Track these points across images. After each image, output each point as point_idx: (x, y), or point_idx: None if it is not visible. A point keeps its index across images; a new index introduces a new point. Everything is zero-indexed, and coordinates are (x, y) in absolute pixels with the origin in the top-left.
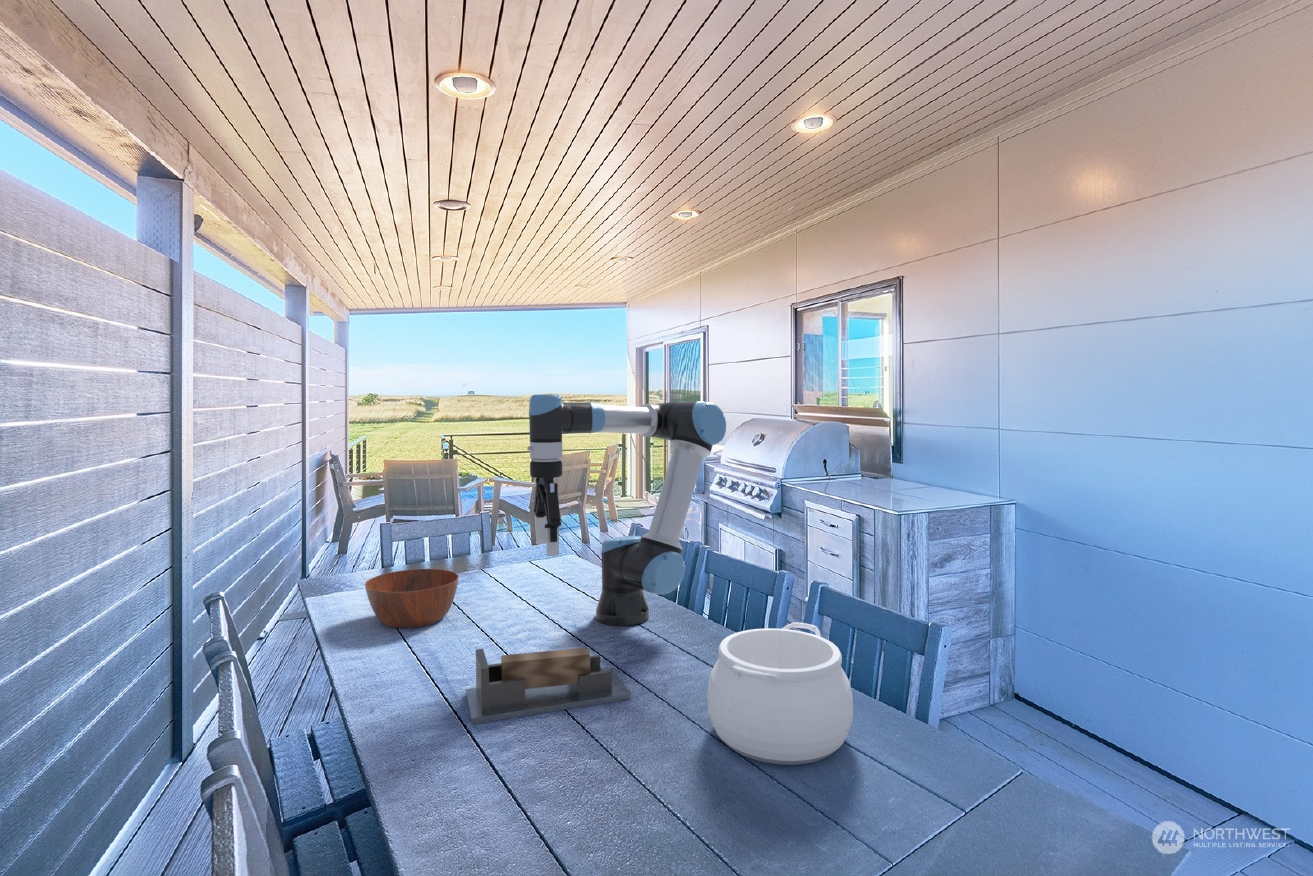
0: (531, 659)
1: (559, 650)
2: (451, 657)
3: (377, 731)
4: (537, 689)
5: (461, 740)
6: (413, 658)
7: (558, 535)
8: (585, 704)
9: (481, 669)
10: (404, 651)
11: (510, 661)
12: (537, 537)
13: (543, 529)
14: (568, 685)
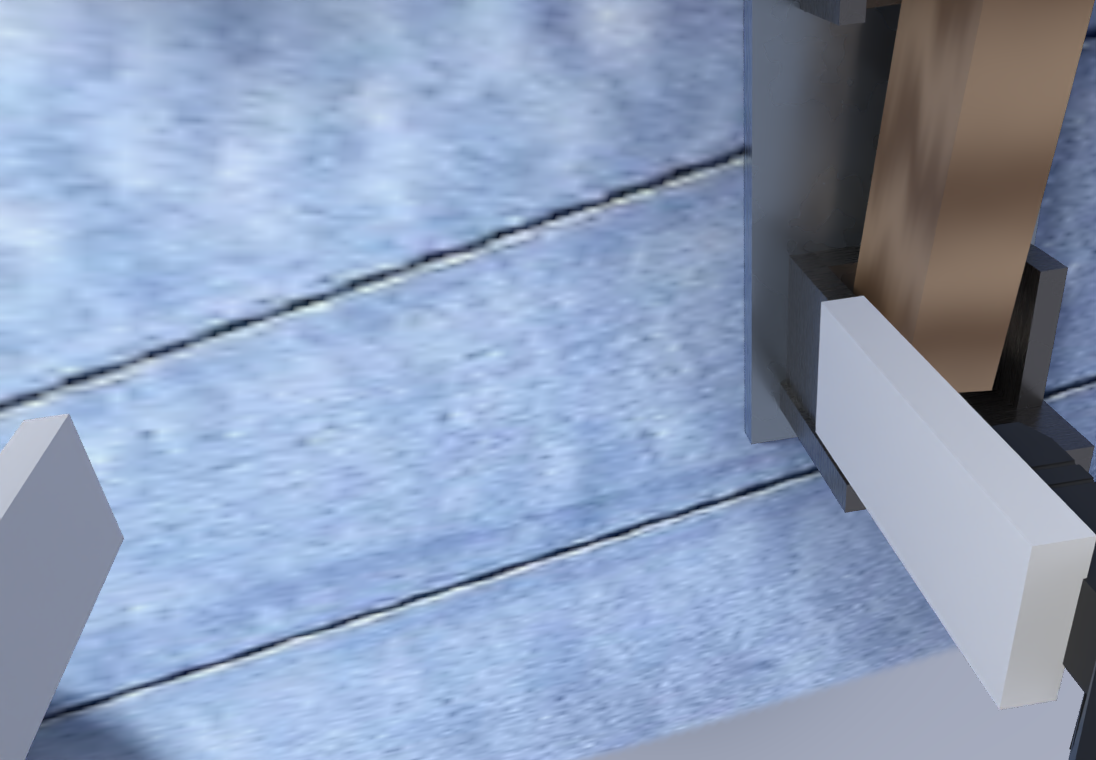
0: (1023, 260)
1: (969, 105)
2: (330, 520)
3: (907, 626)
4: (869, 170)
5: (1084, 413)
6: (321, 641)
7: (1008, 447)
8: None
9: (1088, 471)
10: (235, 681)
11: (997, 355)
12: (87, 591)
13: (5, 604)
14: (885, 17)
